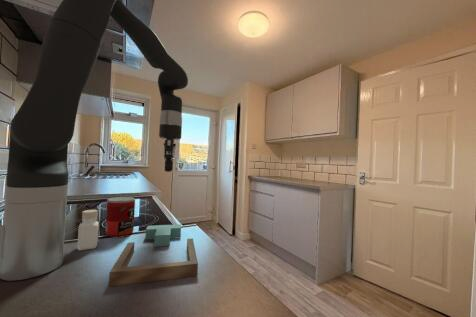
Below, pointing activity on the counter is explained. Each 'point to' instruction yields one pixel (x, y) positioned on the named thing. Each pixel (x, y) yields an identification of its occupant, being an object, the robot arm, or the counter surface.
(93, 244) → the salt shaker
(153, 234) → the teal T block
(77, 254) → the counter surface
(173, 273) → the tray
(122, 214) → the canned food
